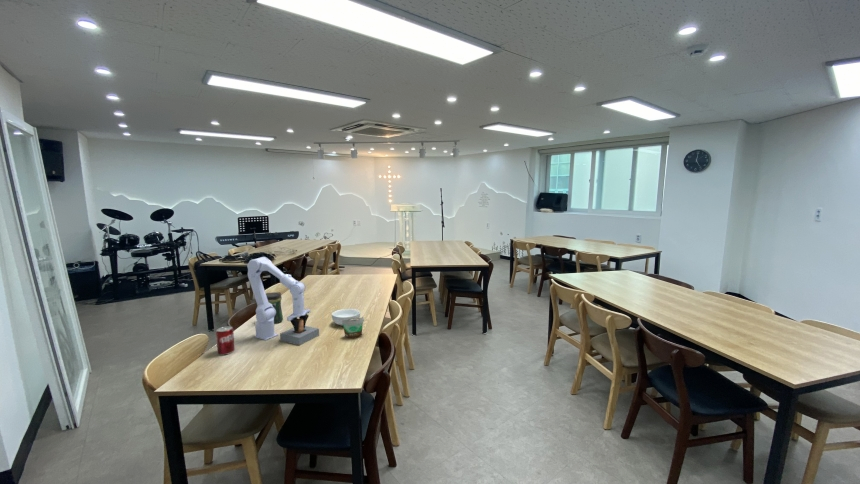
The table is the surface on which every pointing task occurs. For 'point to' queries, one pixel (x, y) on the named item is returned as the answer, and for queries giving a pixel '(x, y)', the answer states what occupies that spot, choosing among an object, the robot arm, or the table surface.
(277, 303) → the coffee jar
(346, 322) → the food container
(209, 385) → the table surface
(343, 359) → the table surface
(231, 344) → the soda can
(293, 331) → the socket
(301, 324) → the peg
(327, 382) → the table surface
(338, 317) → the cereal bowl
